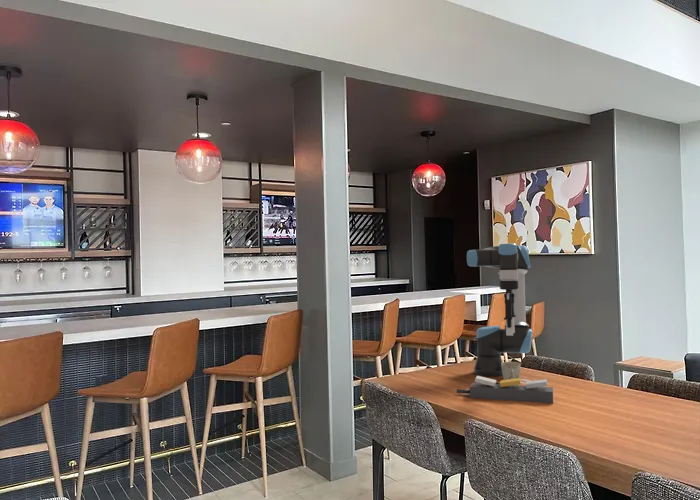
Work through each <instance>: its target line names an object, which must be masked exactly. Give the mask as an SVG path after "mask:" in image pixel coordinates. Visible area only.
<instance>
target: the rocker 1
mask: <svg viewBox="0 0 700 500" xmlns="http://www.w3.org/2000/svg"><path fill="white" fill-rule="evenodd" d="M474 383H482V384H486V385H490V386H494V387H495V385H496V384H497V380H496V379H493V378H489V377H486V376H482V375H476V377H475V379H474Z"/></svg>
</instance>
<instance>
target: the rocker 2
mask: <svg viewBox="0 0 700 500" xmlns="http://www.w3.org/2000/svg"><path fill="white" fill-rule="evenodd" d="M499 384H500V387H505V386H512V385H521V384H522V378H521V377H519V378H515V379H508V380H503V379H502V380H500V381H499Z"/></svg>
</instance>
